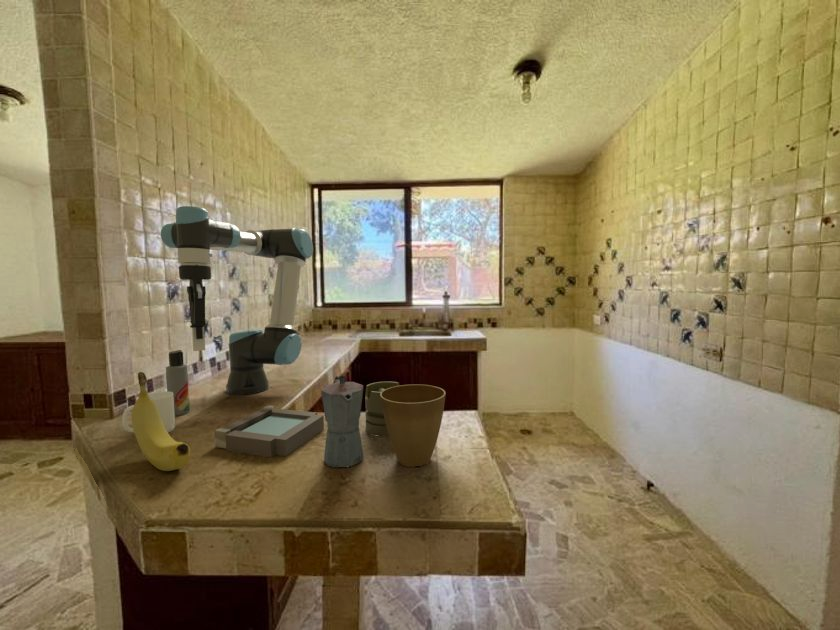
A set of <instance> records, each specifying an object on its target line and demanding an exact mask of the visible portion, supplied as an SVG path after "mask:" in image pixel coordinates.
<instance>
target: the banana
mask: <svg viewBox="0 0 840 630" xmlns="http://www.w3.org/2000/svg"><path fill="white" fill-rule="evenodd" d="M137 379H138V385H139V387H140V392H139V396H137V397H138V399H137V400H136V401H135V403H134V404H133V405H134V407H133V410H131V424H132V428H133V429H134V432H133V433H134V436H135V439H136V441H137V443H138V445H139V447H140V450H141V451H142V453H143V455H144V457H146V459H147V461H148V462H149V463H150V464H151V465H153V467H154V468H156V469H159V470H160V471H163V472H171V471H176V470H179V469H181V468H183V467H185V466H186V465H187V463H188V461H189V460H190V455H191V447H190V446H189V445H188V444H187V443H185V442H182V441H181V442H180V441H176V440H175V439H174V438H172V437H171V435H170V434H169V433H168V432H167V430H166V428H165V426H164V424H163V422H162V419H161V417H160V414H159V411H158V409H157V407H156V405H155V403H154V402H153V401H152V400H151V399H150V397H149V396H148V392H147V387H146V386H147V384H146V383H147V382H148V378H147V375H146V374H145V372H142V371H139V372H138V373H137Z"/></svg>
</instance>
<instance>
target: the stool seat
mask: <svg viewBox="0 0 840 630" xmlns="http://www.w3.org/2000/svg"><path fill="white" fill-rule="evenodd" d="M324 419H325V414H324V415H322V414H321V415H320V414H318V412H313V411H305V410H296V409H295V410H294V409H284V408H277V409H274V411H273V412H272V415H271V416H269V417H267V418H266V419H264V420H262V421H260V422H258V423H256V424H254V425H252V426H250V427H248V428H246V429H244V430H242V431H236V430H234V431H232V432H230V433H228V434H226V435H225V437H226V448H225V451H226V452H232V453H237V454H238V453H239V454H245V455H250V456H252V455H253V456H258V457H263V458H264V457H265V458H273V457H274V456H281V457H287V456H289V455H290V454H292V453H293V452H295V450H297V449H299V448H300V447H301V446H303V445H304V444H305V443H307V442H308V441H310V440H311V439H312V438H314V437H315V436H317V435H318V434H320V433H321V432H322V431H324V430H325V423H324V421H325V420H324Z"/></svg>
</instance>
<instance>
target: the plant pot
mask: <svg viewBox="0 0 840 630" xmlns="http://www.w3.org/2000/svg"><path fill="white" fill-rule="evenodd" d="M380 397H381V403H382V408H383V414H384V418H385V423H386V427H387V430H388V434H389V436H388V437H389V439H390V443H391V446H392V449H393V450H394V454H395V456H396V458H397V461H398V462H400V463H401V464H400V463H399V464H400V465H401V466H404V465H405V466H404V467H407V466H410V467H409V468H416V467H415V466H420V467H423V465H424V466H426V465H428V464H429V463H430V461H431V459H432V456H433V454H434V451H435V447H436V444H437V441H438V438H439V434H440V430H441V425H442V420H443V416H444V410H445V402H446V390H445V389H443V388H441V387H438V386H434V385H429V384H414V383H413V384H403V385H400V384H399V386H395V387H391V388H388V389H385V390H384V391H382V392H381V394H380ZM427 463H428V464H427ZM425 464H426V465H425Z"/></svg>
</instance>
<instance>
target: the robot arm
mask: <svg viewBox="0 0 840 630" xmlns="http://www.w3.org/2000/svg"><path fill="white" fill-rule="evenodd" d="M160 239H161V241H162V242H163V244H164V245H165V246H167V247H168V248H171V249H177V263H178V264H180V265H179V266H178V276H179V279H180V280H185V281H186V280H187V281H188V280H189V284H188V286H186V292H187V295H188V305H189V317H190V321H189V322H190V324H191V325H189V326H190V329H191V330H192V349H193V352H199V351H206V340H205V338H206V336H205V327H206V326H207V325H206V294H207V292H206V286H204V285H203V283H204V282H203V281H204V280H205V281H207V280H211V279H212V268H211V266H210V264H211V258H212V257H213V253H210V252H211V251H222V252H223V251H224V252H239V253H244V254H245V255H248V256H254V257H255V256H256V257H261V258H267V259H268V258H269V259H274V261H275V262H276V263H277V270H276V277H275V284H274V290H273V291H274V292H273V299H272V304H271V305H272V306H271V313H270V320H269V323H268V324H267V325H266V326H265V327H264V329H261V328H259V329H258V328H257V329H249V330H242V331H236V332H232V333H230V334H229V339H228V349H229V350H228V351H229V365H230V366H229V367H230V372H229V375H228V379H227V383H226V385H225V392H226V393H227V394H228V395H234V396H236V395H237V396H238V395H240V396H242V395H251V394H256V393H257V392H258V393H261V391H262V392H264V391H267V390H269V388H270V382H269V380H268V378H267V374H266V372H265V368H264V365H277V366H285V365H291V364H293V363H295V362H296V360H297V359H298V358H299V356H300V355H301V351H302V348H303V347H302V346H303V344H302V339H301V336H300V335H299V334H297V333H298V330H297V329H296V327H295V326H294V322H295V315H296V307H297V299H298V293H299V292H298V291H299V284H300V276H301V269H302V267H303V266H305V265H306V261H307V259H310V258H311V257H312V256H313V253H314V245H313V241H312V237H311V235H310V234H309V233H308V231H307V230H305V229H304V228H297V227H292V228H278V229H276V228H271V229H263V230H251V229H249V230H246V231H241V230H240V228H239V227H238V226H237V225H235V224H232V223H230V222H227V221H221V220H216V219H213V218H212V219H211V218H210V216H209V211H208V210H207V209H206V208H203V207H200V206H191V205H182V206H179V207H177V209H176V212H175V222H172V223H166V224H165V225H163V226H162V228H161V230H160ZM210 250H211V251H210ZM263 330H264V331H263ZM266 389H267V390H266Z"/></svg>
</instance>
